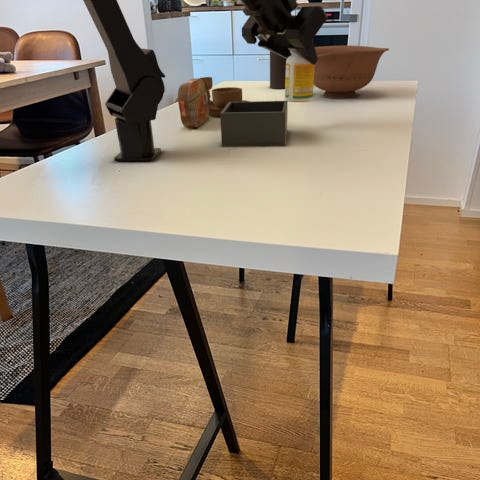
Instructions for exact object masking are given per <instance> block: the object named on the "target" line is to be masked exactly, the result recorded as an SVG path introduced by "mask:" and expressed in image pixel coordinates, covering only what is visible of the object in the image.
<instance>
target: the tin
mask: <svg viewBox="0 0 480 480" xmlns="http://www.w3.org/2000/svg"><path fill="white" fill-rule="evenodd" d="M177 104H178V109H179V115H180V121H181V123H182V125H183V126H184V127H185V128H188V129H189V128H191V129H192V128H197V129H198V128H200V127H201V126H202V125H203V124H204V123H205V122H206V121H208V119H209V116H210V115H209V112H210V103H209V93H208V88H207V84H206V82H205V80H204V78H203V77H199V78H191V79H189V80H187V81H186V82H184V83H181V84H180V86H179V87H178V91H177Z"/></svg>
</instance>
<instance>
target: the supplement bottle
mask: <svg viewBox="0 0 480 480" xmlns="http://www.w3.org/2000/svg"><path fill="white" fill-rule="evenodd" d="M290 53H291V56H289V57H288V58H287V60H286V78H285V89H284V101H288V103H308V102H312V101H313V99H314V98H313V97H314V86H315V85H314V69H315V65H313V64H311V63H309V62H308V61H306V60H305V59H303V58H301V57H300V56H298V55H297V54H295V53H294V52H292V51H291V50H290Z"/></svg>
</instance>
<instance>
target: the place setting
mask: <svg viewBox="0 0 480 480" xmlns="http://www.w3.org/2000/svg"><path fill="white" fill-rule="evenodd" d="M202 78H204V80H205V82H206V84H207V88H208V93H209V103H210V112H209V116H213V117H220V113H221V112H222V110H223V109H224V108H225V106H226V105H227V104H228V103H229V102H251V101H249V100H244V99H243V88H241V87H236V86H235V87H233V86H232V87H231V86H228V87H217V88H213V77H212V76H203V77H202Z"/></svg>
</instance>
